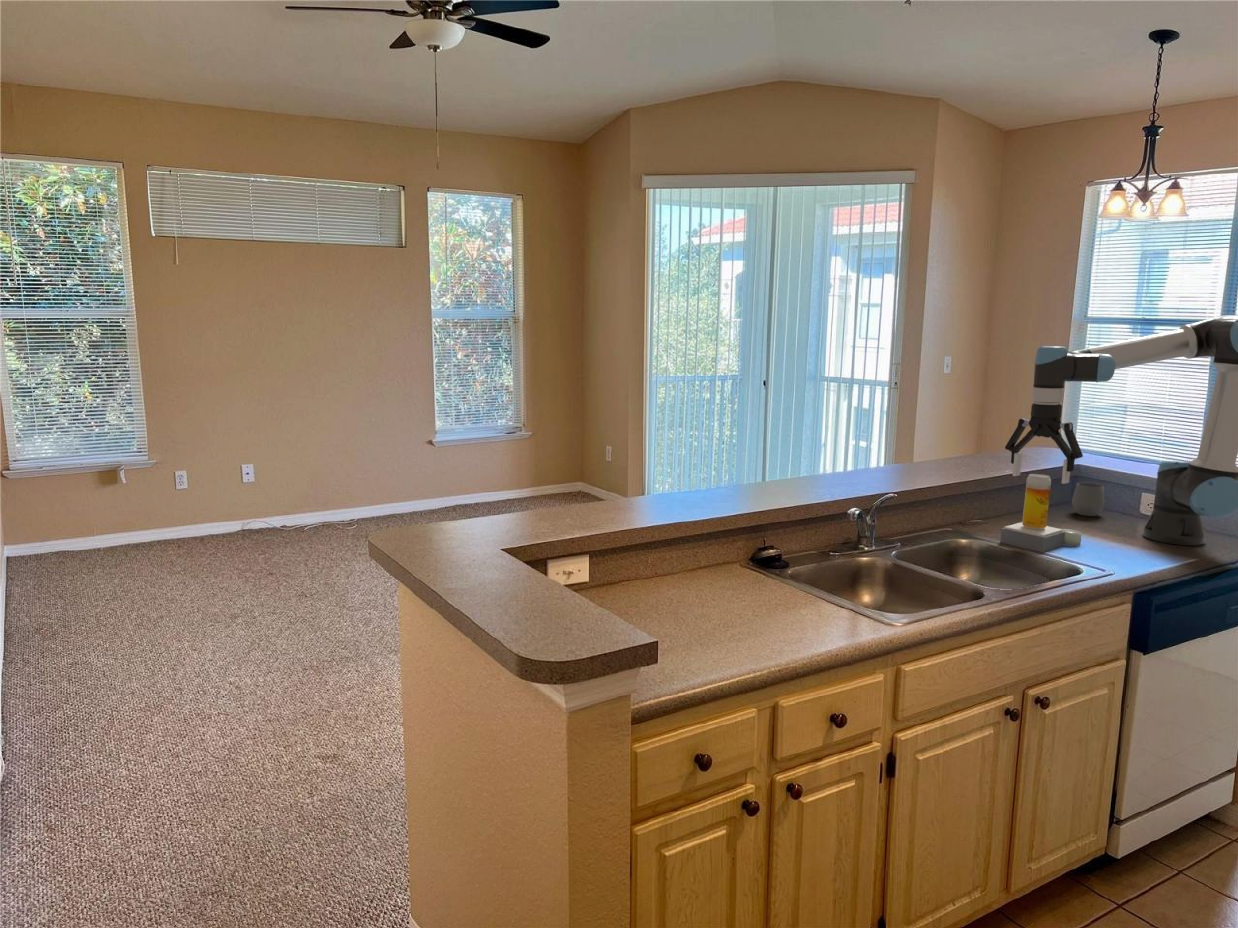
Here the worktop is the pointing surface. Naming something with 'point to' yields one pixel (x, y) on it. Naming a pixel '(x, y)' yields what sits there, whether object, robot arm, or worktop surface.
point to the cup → (1088, 499)
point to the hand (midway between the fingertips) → (1040, 479)
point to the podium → (1032, 537)
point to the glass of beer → (1036, 501)
